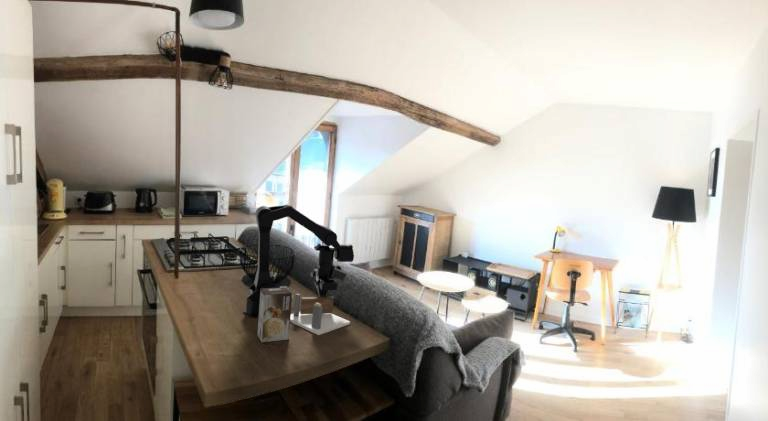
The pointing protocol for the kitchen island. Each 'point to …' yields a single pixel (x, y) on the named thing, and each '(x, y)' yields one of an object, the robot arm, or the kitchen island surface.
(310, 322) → the gate frame
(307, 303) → the gate
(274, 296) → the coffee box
